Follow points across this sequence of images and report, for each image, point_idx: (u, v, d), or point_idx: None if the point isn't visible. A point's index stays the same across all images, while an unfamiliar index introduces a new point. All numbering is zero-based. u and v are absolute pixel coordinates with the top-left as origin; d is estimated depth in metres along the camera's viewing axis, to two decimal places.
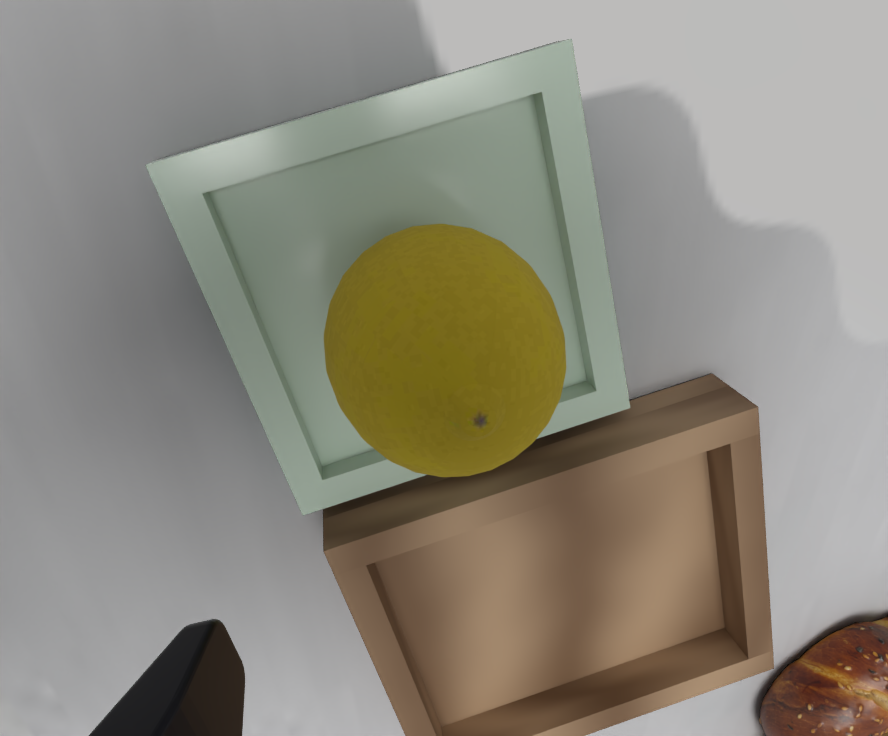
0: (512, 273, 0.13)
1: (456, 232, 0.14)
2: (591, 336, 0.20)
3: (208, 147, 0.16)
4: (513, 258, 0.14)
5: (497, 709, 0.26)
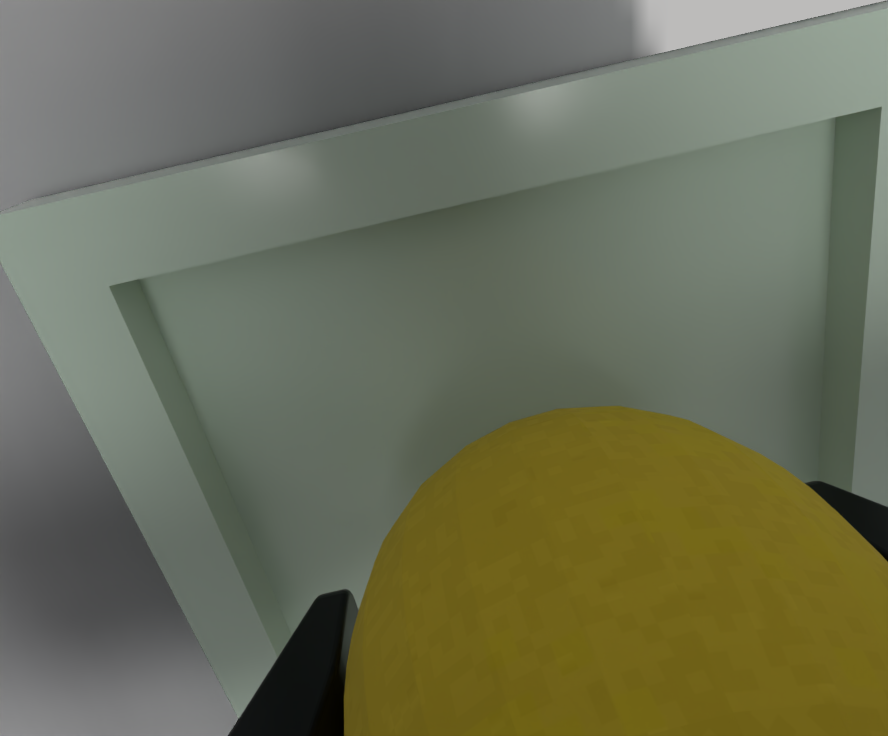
0: None
1: (737, 503, 0.05)
2: None
3: (122, 188, 0.07)
4: None
5: None
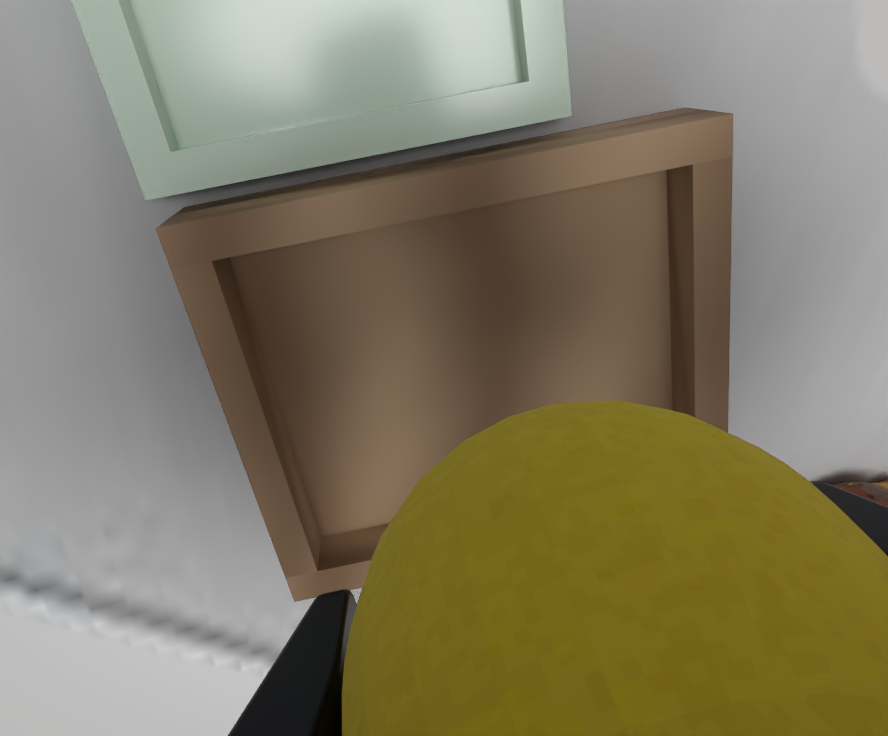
0: None
1: (735, 495, 0.05)
2: None
3: None
4: None
5: None
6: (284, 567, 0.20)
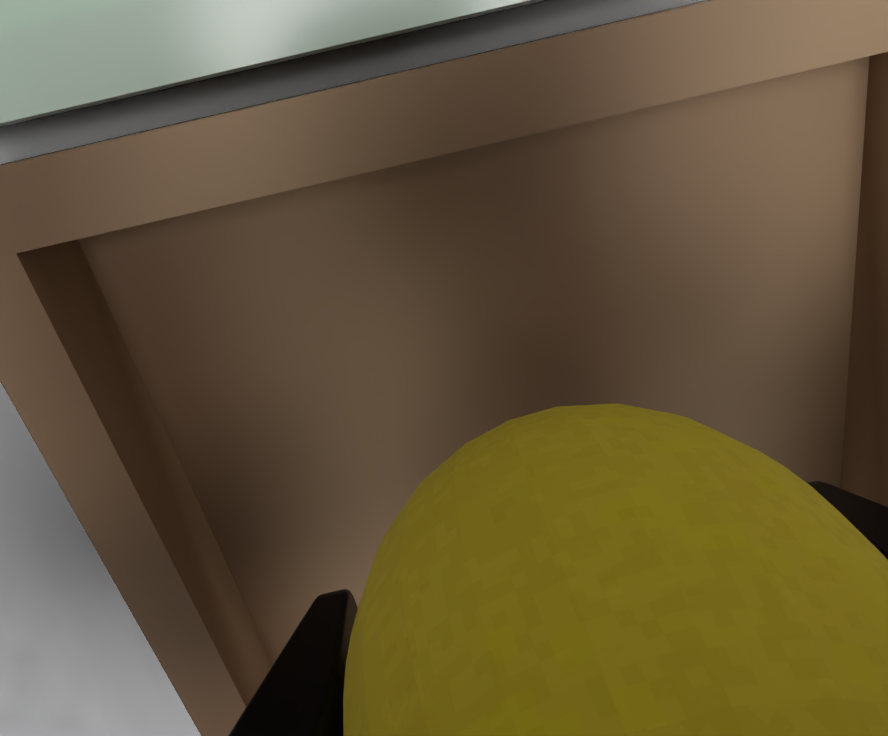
0: None
1: (735, 499, 0.05)
2: None
3: None
4: None
5: None
6: None
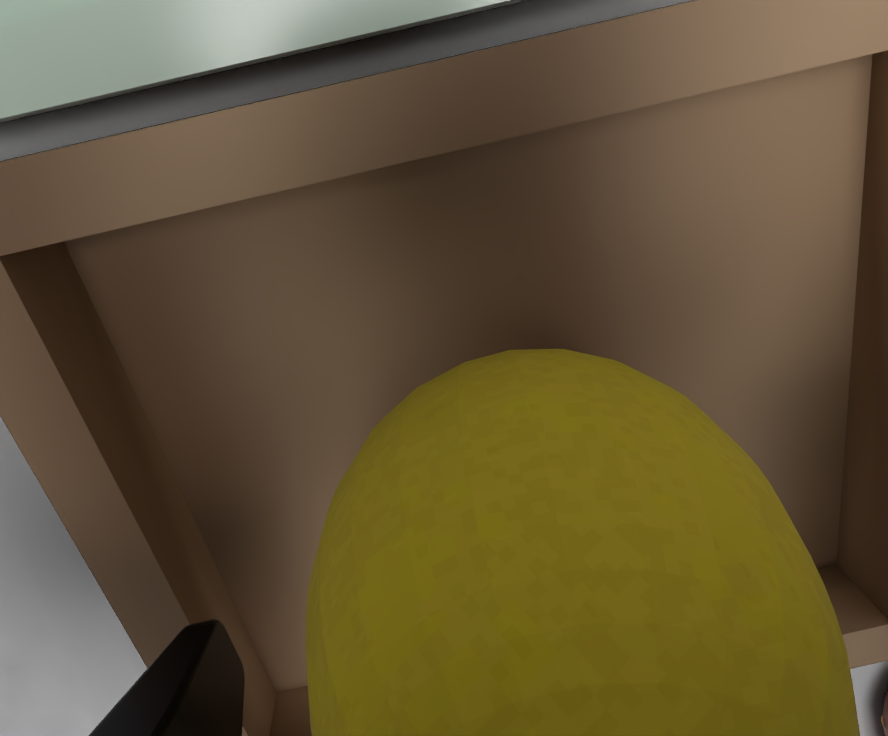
0: (756, 553, 0.05)
1: (611, 402, 0.06)
2: None
3: None
4: (745, 486, 0.06)
5: None
6: None
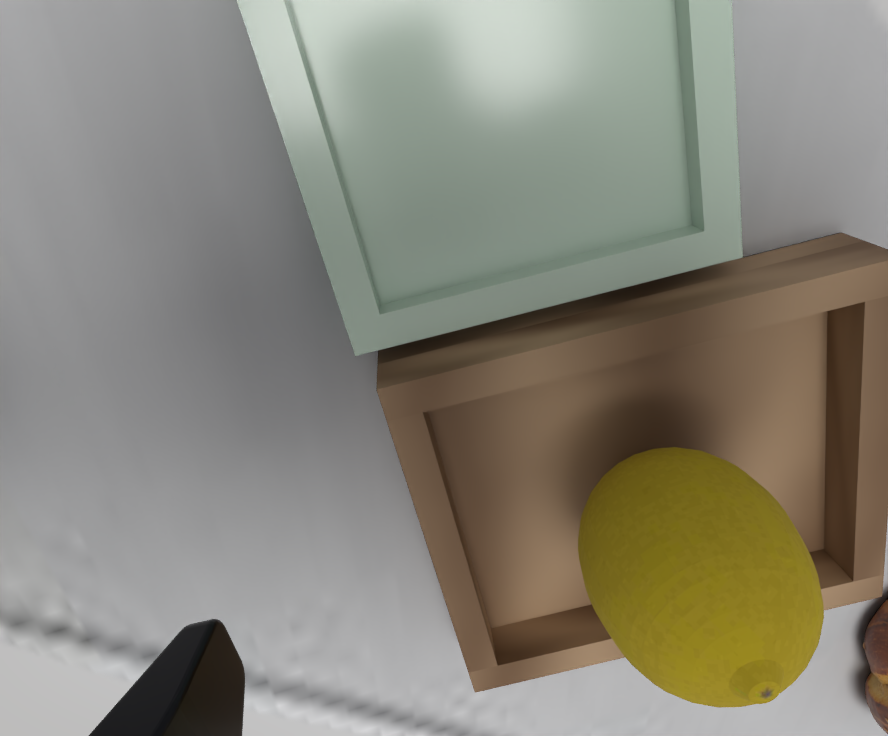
0: (785, 541, 0.15)
1: (723, 485, 0.16)
2: (705, 158, 0.17)
3: None
4: (778, 516, 0.15)
5: (554, 615, 0.23)
6: (468, 663, 0.22)
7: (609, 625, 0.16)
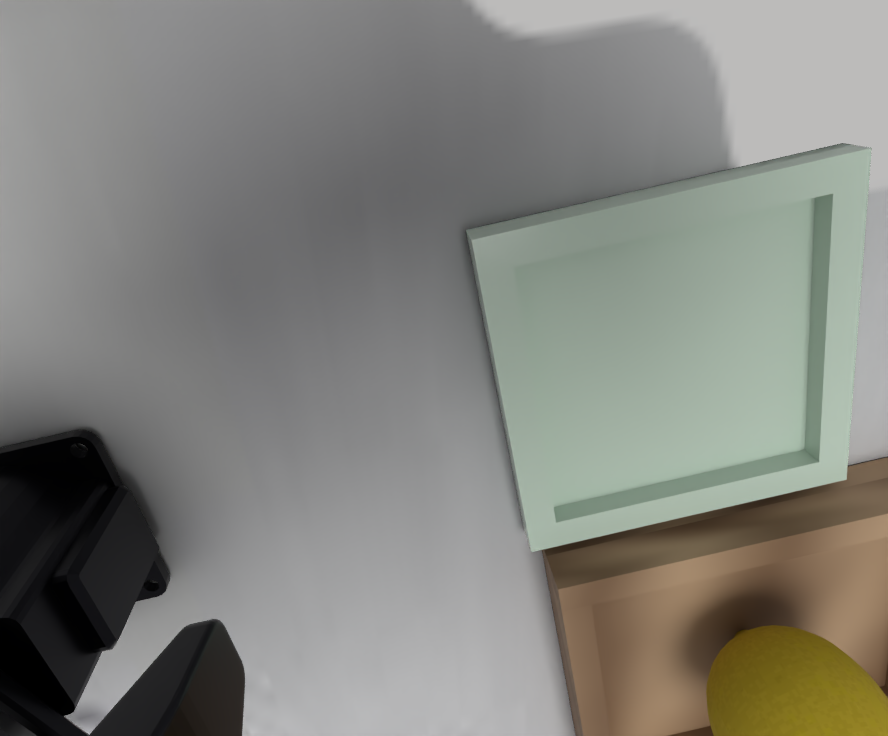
0: None
1: (841, 679, 0.20)
2: (826, 413, 0.21)
3: (528, 227, 0.17)
4: (886, 706, 0.20)
5: None
6: None
7: None
